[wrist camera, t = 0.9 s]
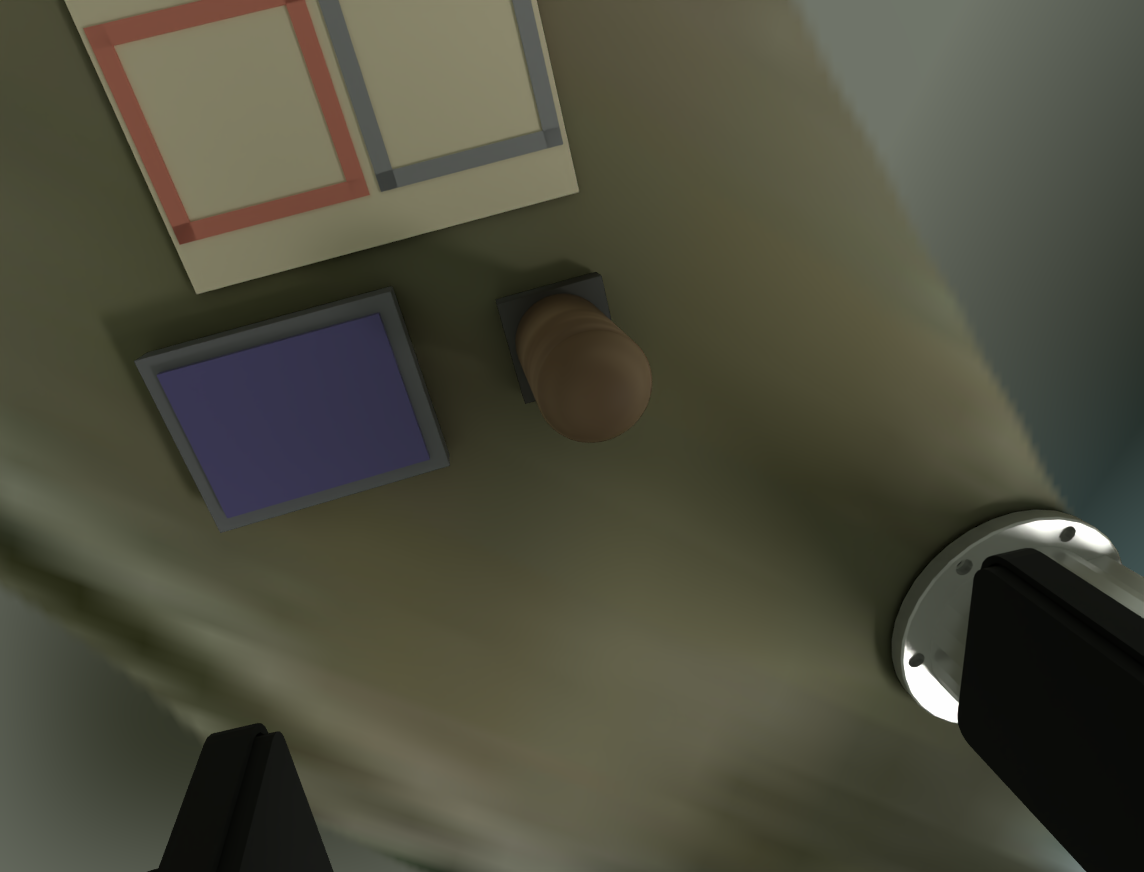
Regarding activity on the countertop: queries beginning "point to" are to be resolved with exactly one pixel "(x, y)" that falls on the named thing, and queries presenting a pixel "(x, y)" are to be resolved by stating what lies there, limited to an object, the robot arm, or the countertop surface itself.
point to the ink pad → (298, 408)
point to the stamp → (576, 359)
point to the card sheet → (327, 121)
